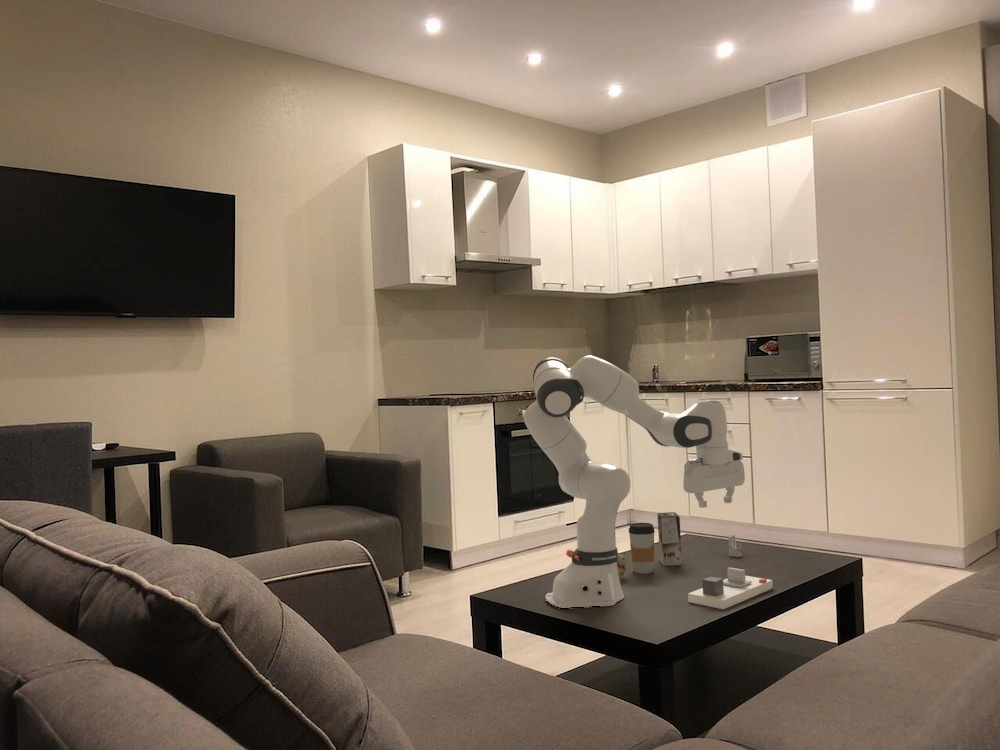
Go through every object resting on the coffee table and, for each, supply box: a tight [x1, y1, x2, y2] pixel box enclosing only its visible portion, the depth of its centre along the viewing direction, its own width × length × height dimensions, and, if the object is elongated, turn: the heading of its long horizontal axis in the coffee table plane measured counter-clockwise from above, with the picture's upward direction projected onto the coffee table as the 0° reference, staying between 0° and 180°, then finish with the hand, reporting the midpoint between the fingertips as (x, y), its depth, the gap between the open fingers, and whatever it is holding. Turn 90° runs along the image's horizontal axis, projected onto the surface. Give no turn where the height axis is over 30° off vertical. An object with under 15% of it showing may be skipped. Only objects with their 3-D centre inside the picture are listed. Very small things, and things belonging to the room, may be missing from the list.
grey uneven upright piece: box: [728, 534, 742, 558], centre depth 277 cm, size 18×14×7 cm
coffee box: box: [657, 511, 683, 567], centre depth 271 cm, size 9×6×16 cm
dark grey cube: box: [702, 576, 724, 596], centre depth 223 cm, size 4×4×4 cm
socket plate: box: [687, 575, 774, 610], centre depth 229 cm, size 26×11×3 cm, turn 133°
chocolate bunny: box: [618, 552, 628, 581], centre depth 254 cm, size 6×8×10 cm
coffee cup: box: [628, 522, 656, 574], centre depth 261 cm, size 8×8×15 cm
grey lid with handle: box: [723, 567, 752, 588], centre depth 231 cm, size 6×6×4 cm
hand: (715, 505), depth 230 cm, fingers open, 8 cm apart
